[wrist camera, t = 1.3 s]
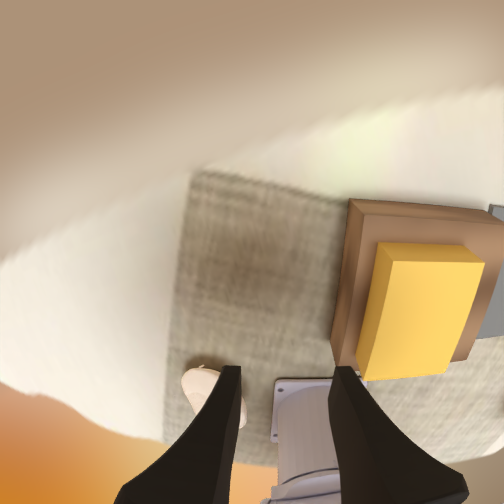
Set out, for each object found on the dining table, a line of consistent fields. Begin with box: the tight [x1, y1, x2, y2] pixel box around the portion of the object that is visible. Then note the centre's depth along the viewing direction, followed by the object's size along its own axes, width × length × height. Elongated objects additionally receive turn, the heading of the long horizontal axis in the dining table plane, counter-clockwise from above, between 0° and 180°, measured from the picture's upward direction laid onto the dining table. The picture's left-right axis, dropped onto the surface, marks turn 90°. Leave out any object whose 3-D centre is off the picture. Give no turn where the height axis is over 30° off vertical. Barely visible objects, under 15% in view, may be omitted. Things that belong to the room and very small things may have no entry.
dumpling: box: [181, 365, 247, 429], centre depth 24 cm, size 7×5×4 cm
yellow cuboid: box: [355, 242, 485, 381], centre depth 17 cm, size 8×6×2 cm
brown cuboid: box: [330, 199, 504, 371], centre depth 20 cm, size 11×11×4 cm
